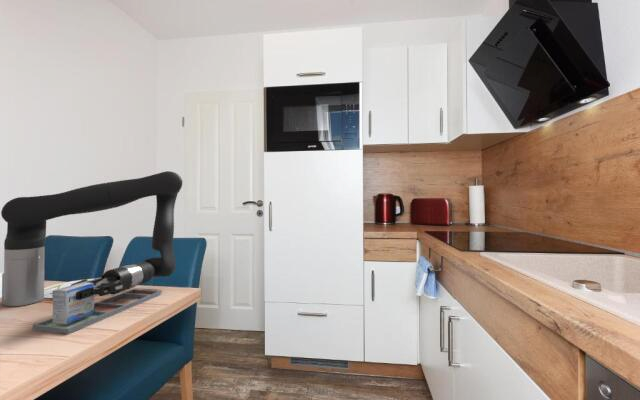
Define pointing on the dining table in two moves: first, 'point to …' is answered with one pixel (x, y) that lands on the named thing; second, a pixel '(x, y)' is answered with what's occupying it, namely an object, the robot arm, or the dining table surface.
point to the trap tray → (102, 310)
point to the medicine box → (71, 304)
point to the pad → (73, 322)
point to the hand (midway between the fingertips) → (69, 295)
